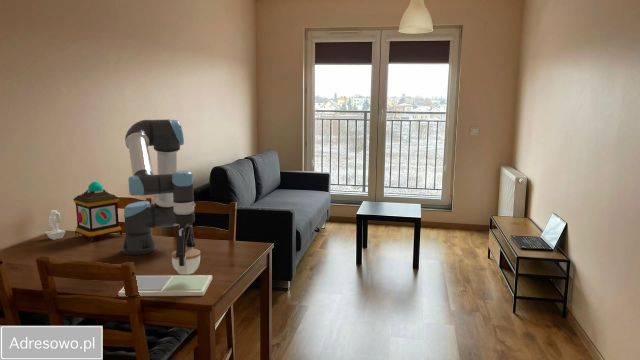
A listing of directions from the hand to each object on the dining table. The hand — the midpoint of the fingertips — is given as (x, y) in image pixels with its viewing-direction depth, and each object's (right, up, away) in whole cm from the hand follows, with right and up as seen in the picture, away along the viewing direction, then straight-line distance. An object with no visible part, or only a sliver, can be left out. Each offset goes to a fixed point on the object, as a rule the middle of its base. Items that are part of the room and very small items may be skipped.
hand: (186, 268), depth 180 cm
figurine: (-88, +3, +67) cm, 110 cm away
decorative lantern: (-67, +4, +70) cm, 97 cm away
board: (-8, -7, +1) cm, 11 cm away
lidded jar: (0, -2, 0) cm, 2 cm away
